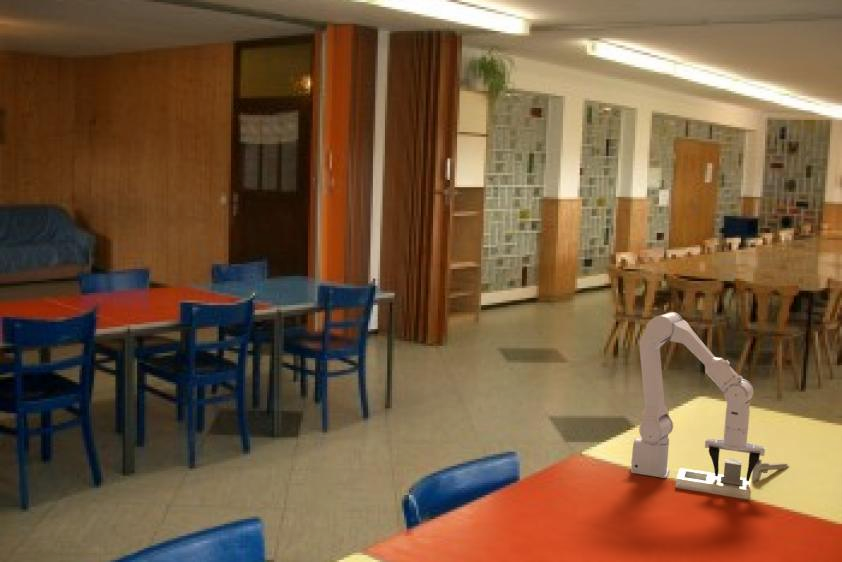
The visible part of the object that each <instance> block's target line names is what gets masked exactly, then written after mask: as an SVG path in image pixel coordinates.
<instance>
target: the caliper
mask: <svg viewBox="0 0 842 562" xmlns="http://www.w3.org/2000/svg"><path fill="white" fill-rule="evenodd" d="M787 468H790V466H789V465H788V463H784V462H780V463H779V462H778V463H768V462H763V460H762V459H760V458H759V460H758V462H757V463H756V465H755V467H754V468H753V471H752V473H751V475H752V477H751V481H752V482H754V483H757V482H760V480H761V477H762V474H768V471H774V470H775V471H776V470H785V469H787Z"/></svg>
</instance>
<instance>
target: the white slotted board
mask: <svg viewBox="0 0 842 562" xmlns="http://www.w3.org/2000/svg"><path fill="white" fill-rule="evenodd" d="M746 478H747V477H741V476H740V486H735V485H729V484H723V479H724V474H722V473H721V474H720V473H718V477H716V476H715V472H709V471H702V470H696V469H689V468H682V467H680V468H679V470H678V473H677V476H676V479H675V489H676V488H677V489H680V490H681V489H682V490H688V491H694V492H695V491H696V492H700V493H706V494H712V495H720V496H725V497H731V498H737V499H743V500H744V499H745V500H749V499H750V489H751V481H752V478H750V479H749V482H748V481H746Z"/></svg>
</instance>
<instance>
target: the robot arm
mask: <svg viewBox="0 0 842 562" xmlns="http://www.w3.org/2000/svg"><path fill="white" fill-rule="evenodd" d="M668 340H669V341H670V342H674V343H678V344H683V345H684V347H686V348H687V350H689V351H690V352H691V353H692V354H693V355H694V356H695V357H696V358H697V359H698V360H699V361H700V362H701V363H702V364H703V365H704V371H705V372H704V373H706V375H707V376H708V377H709V378H710V379H711V380H712V381H713V383H715V384H716V386H717V387H718V388H719V389H720V390H721V391H722V392H723V396H724V399H725V401H726V408H725V419H724V429H723V439H719V438H718V439H717V438H705V441H704V448H707V449H708V453H709V456H710V459H711V461H712V465H713V469H714V473H715V476H716V477H718V474H719V466H720V465H719V460H720V459H719V458H720V450H725V451H733V452H739V453H745V454H748V455H749V456H748V465H747V466H748V467H747V472H746V477H745V478H746V481H748V482H749V479H751V475H752V474H753V468H754V467H755V465H756V463H757V462H758V460H759V459H760V456H761V457H764V456H765V451H766V447H765V446H762V445H757V444H754V443H749V442H748V436H749V435H748V433H749V432H748V431H749V424H750V423H749V422H750V404H751V401H750V400H751V399H752V398H753V396H754V394H755V393H754V392H755V391H754V387H753V385H752V384H751V382H750V381H749V380H747V379H744V378H743V376H742V375H739V374H738V373H737V372H736V371H735V370H734V369H733V368H732V367H731V366H730V364H731V362H730V361H729V360H728V359H726V360H724V358H723V357H716V356H715V355H714V354H713V353H712V352H711V350H710V349H709V347H707V346H706V345H705V343H704V342H703V341H702V340H701V339H700V338H699V336H698V335H697V334H696V332H695V331H694V330H693V328H691V326H690V324H689V323H688V322H687V321H686V320H685V319H683V318H682V316H681V315H680V314H679V313H677V312H675V311H674V312H673V311H668V312H666V313H664V314H661V315H656V316H654V317H652V318H651V319H650V320H649V321H648V322H647V323H646V324H645V329H644V332H643V333H642V336H641V338H640V339H639V343H638V344H639V354H640V357H639V358H640V368H641V378H642V380H641V381H642V389H643V390H642V391H643V401H644V408H643V410H642V413H641V423H640V424H639V430H638V431H639V435H640V437H635V438H634V440H633V444H632V445H633V446H632V452H631V453H632V454H631V467H630V473H631V474H637V475H643V476H650V477H656V478H662V479H667V477H668V474H669V473H670V468H669V467H668V458H669V445H670V438H669V435H670V434H671V433H672V432H673V429H674V423H673V420H672V419H671V416H670V414H669V409H668V407H667V406H666V405H665V393H664V392H665V391H664V382H663V372H662V370H663V369H662V360H661V349H660V348H661V347H662V346H663V345H664V344H665V343H667V341H668Z"/></svg>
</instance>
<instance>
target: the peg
mask: <svg viewBox="0 0 842 562" xmlns="http://www.w3.org/2000/svg"><path fill="white" fill-rule="evenodd" d="M742 461H743V460H740V459H734V458H725V460H724V469H723V470H724V471H723V475H724V479H723V484H729V485H735V486H740V477H741V473H742Z"/></svg>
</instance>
